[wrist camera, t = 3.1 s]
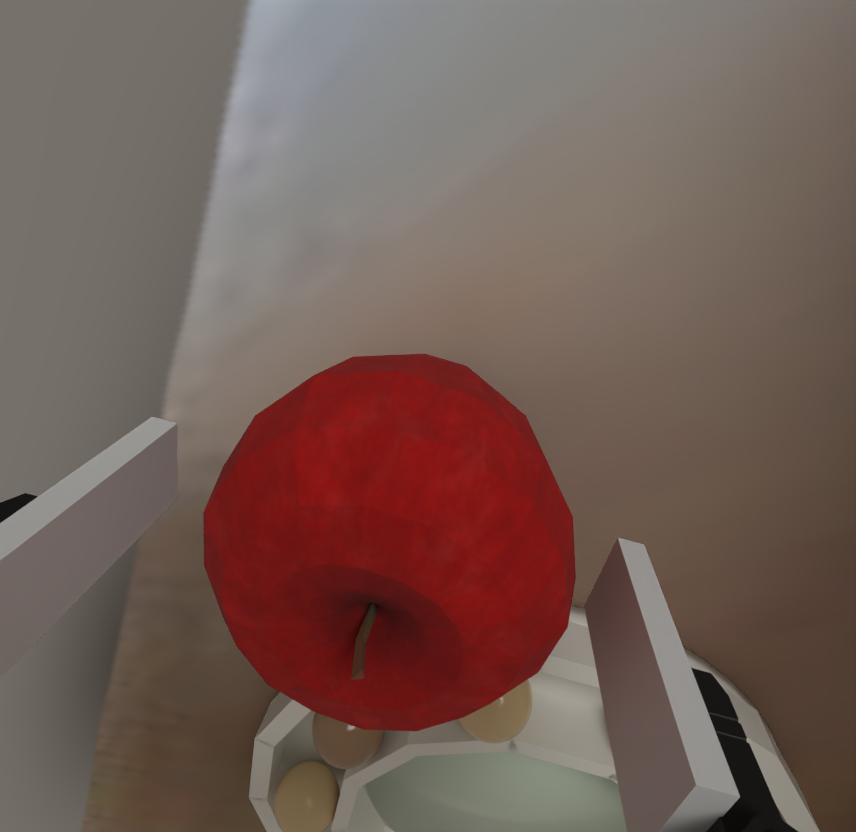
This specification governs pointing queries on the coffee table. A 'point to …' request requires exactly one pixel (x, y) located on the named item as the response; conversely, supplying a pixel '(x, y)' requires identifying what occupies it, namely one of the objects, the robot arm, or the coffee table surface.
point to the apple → (391, 544)
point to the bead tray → (477, 761)
